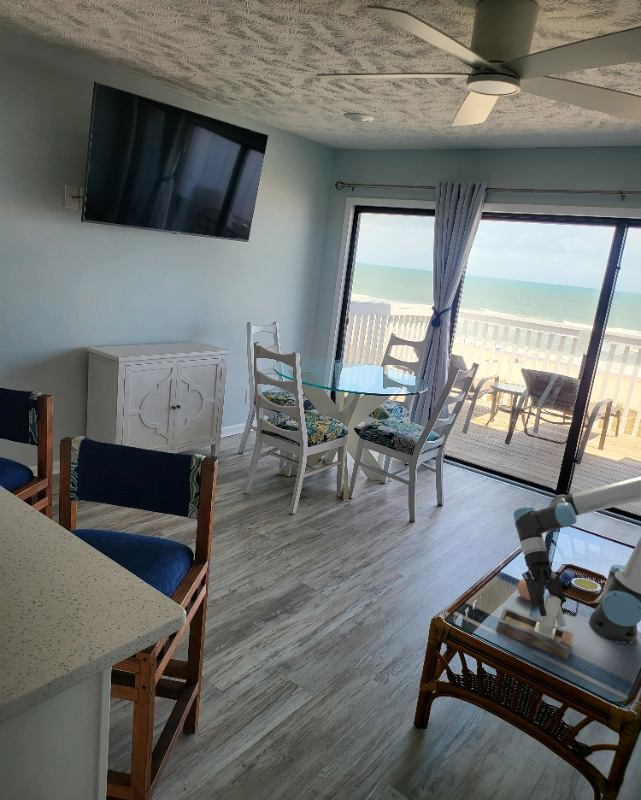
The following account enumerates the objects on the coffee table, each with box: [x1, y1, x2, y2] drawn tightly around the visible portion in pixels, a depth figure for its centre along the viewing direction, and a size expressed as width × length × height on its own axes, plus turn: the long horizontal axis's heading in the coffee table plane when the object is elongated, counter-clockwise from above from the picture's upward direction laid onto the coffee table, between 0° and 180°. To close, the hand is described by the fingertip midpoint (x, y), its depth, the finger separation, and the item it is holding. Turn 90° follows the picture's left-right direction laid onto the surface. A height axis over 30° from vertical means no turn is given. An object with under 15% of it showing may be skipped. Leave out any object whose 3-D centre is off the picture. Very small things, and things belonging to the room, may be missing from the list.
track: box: [496, 607, 574, 660], centre depth 197 cm, size 22×11×4 cm, turn 63°
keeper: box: [534, 594, 561, 640], centre depth 194 cm, size 6×7×12 cm
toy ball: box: [517, 578, 531, 601], centre depth 222 cm, size 8×8×8 cm
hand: (555, 626), depth 191 cm, fingers closed on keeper, 4 cm apart
